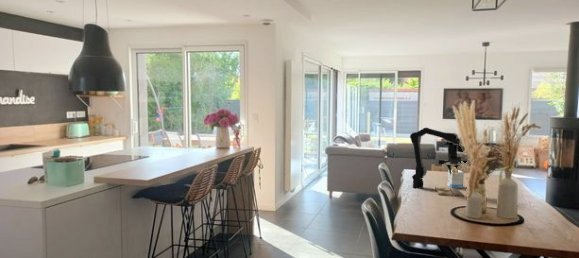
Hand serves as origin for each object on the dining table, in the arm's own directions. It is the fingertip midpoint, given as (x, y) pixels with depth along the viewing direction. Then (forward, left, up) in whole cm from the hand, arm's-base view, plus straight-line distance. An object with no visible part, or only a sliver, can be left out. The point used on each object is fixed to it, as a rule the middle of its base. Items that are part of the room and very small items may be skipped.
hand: (452, 174), depth 275 cm
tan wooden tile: (+3, -2, -12) cm, 13 cm away
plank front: (-5, -8, -12) cm, 15 cm away
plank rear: (-5, +3, -12) cm, 14 cm away
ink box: (+6, +18, -13) cm, 23 cm away
